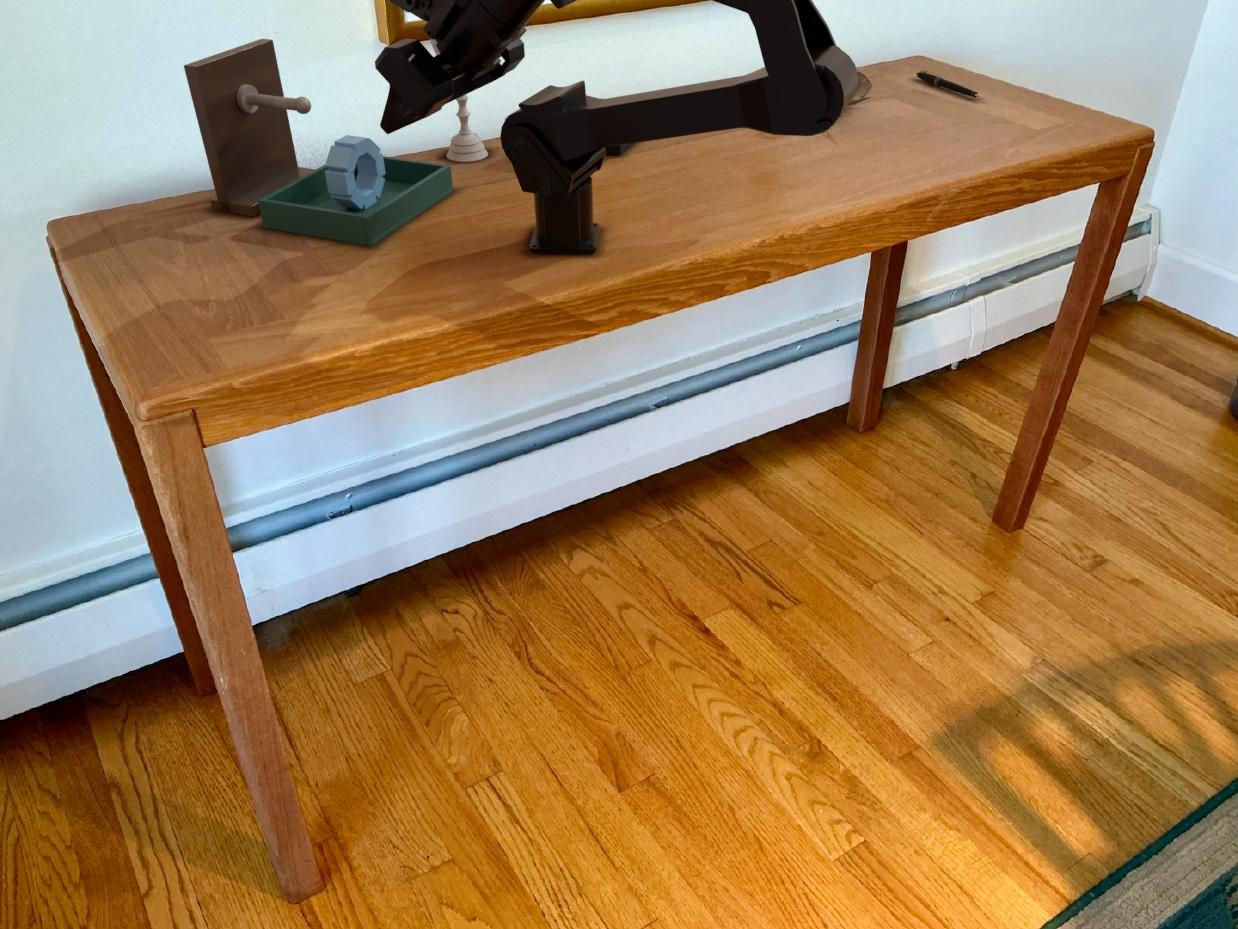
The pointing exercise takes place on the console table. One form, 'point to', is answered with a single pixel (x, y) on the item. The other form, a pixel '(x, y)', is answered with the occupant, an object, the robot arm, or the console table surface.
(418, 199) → the tray
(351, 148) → the blue segmented ring
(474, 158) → the chalice
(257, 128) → the hook rack
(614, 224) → the console table surface
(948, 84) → the fountain pen
